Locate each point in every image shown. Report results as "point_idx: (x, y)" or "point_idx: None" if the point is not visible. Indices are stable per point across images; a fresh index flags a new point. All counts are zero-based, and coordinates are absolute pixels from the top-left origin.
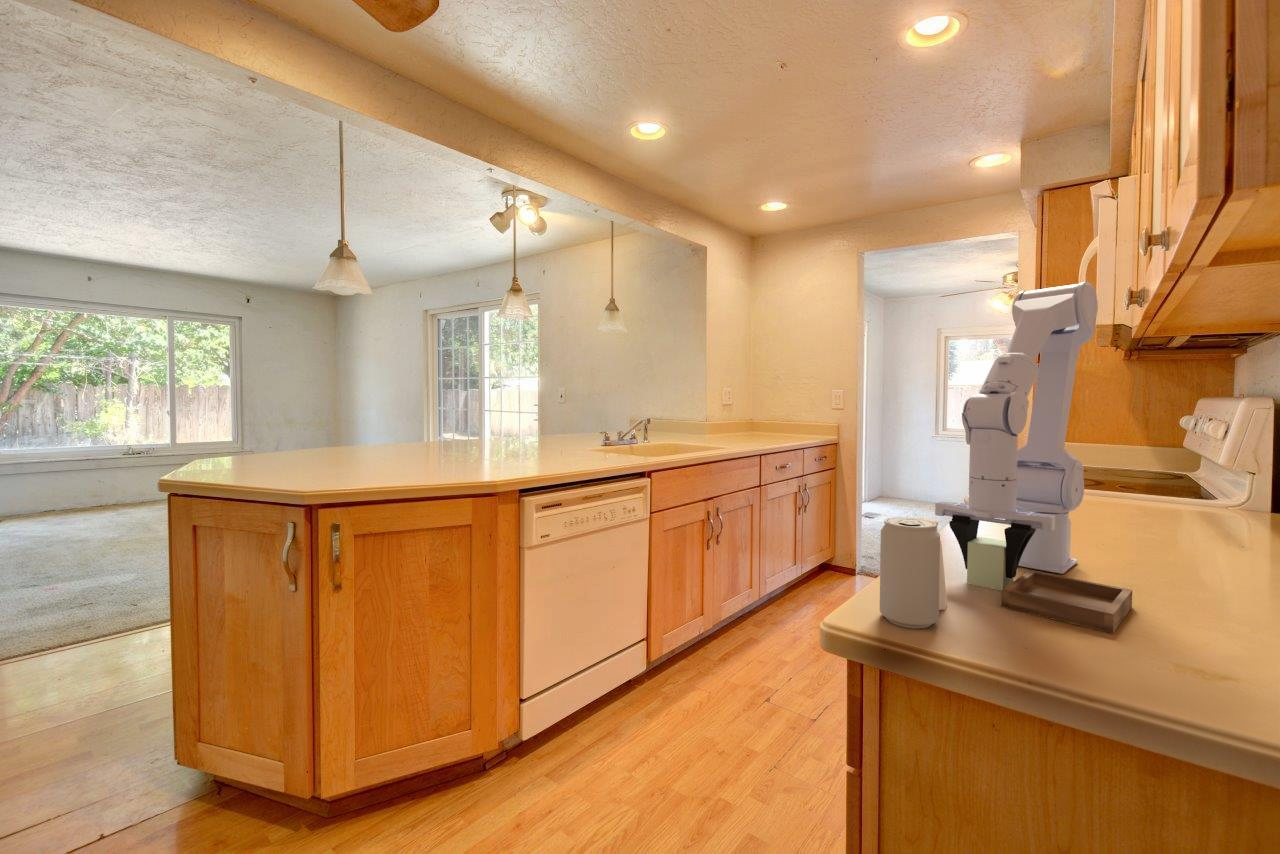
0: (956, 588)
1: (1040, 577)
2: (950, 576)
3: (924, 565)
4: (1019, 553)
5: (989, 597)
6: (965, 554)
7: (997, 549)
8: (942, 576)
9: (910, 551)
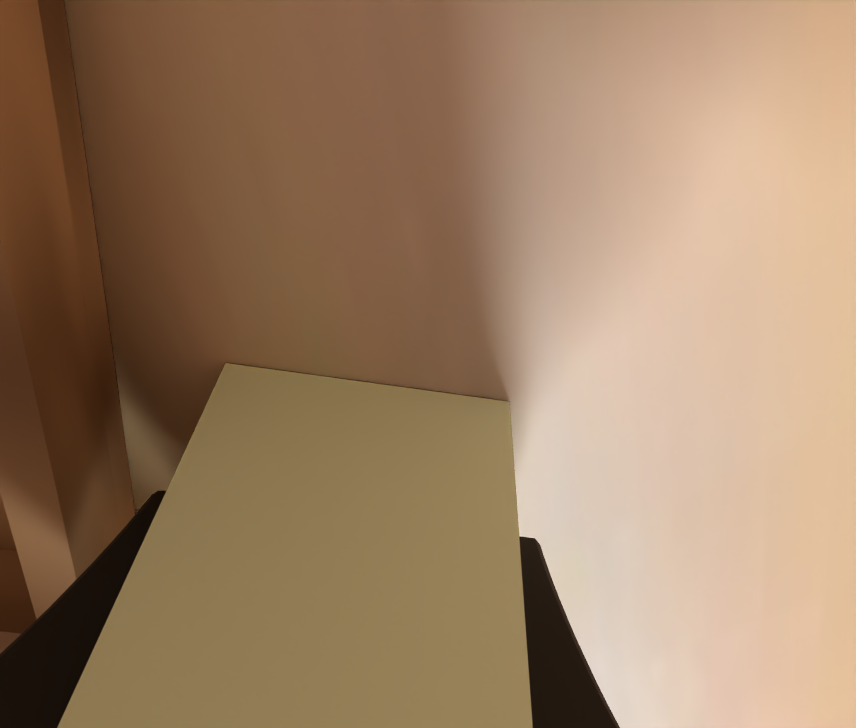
0: (574, 206)
1: (14, 605)
2: (649, 496)
3: None
4: None
5: (252, 113)
6: (554, 658)
7: (146, 722)
8: None
9: None
